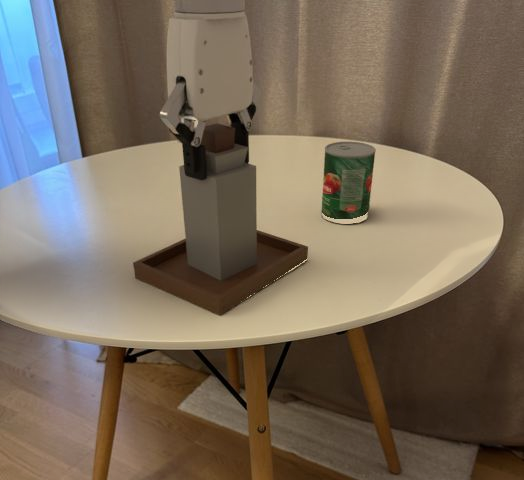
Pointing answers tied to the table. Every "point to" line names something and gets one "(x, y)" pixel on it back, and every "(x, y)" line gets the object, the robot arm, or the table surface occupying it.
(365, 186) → the canned tomato
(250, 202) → the perfume bottle
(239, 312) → the table surface
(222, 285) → the tray
